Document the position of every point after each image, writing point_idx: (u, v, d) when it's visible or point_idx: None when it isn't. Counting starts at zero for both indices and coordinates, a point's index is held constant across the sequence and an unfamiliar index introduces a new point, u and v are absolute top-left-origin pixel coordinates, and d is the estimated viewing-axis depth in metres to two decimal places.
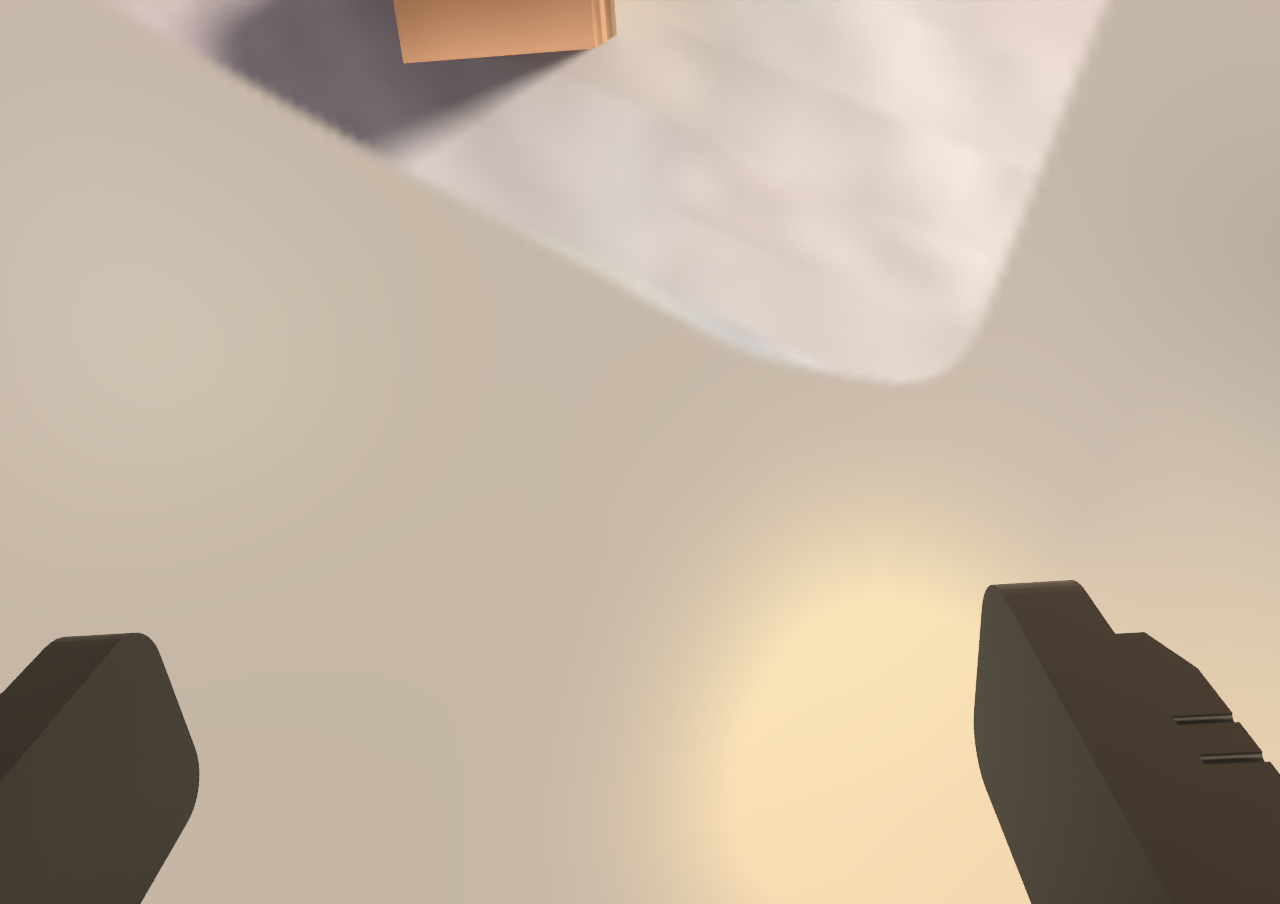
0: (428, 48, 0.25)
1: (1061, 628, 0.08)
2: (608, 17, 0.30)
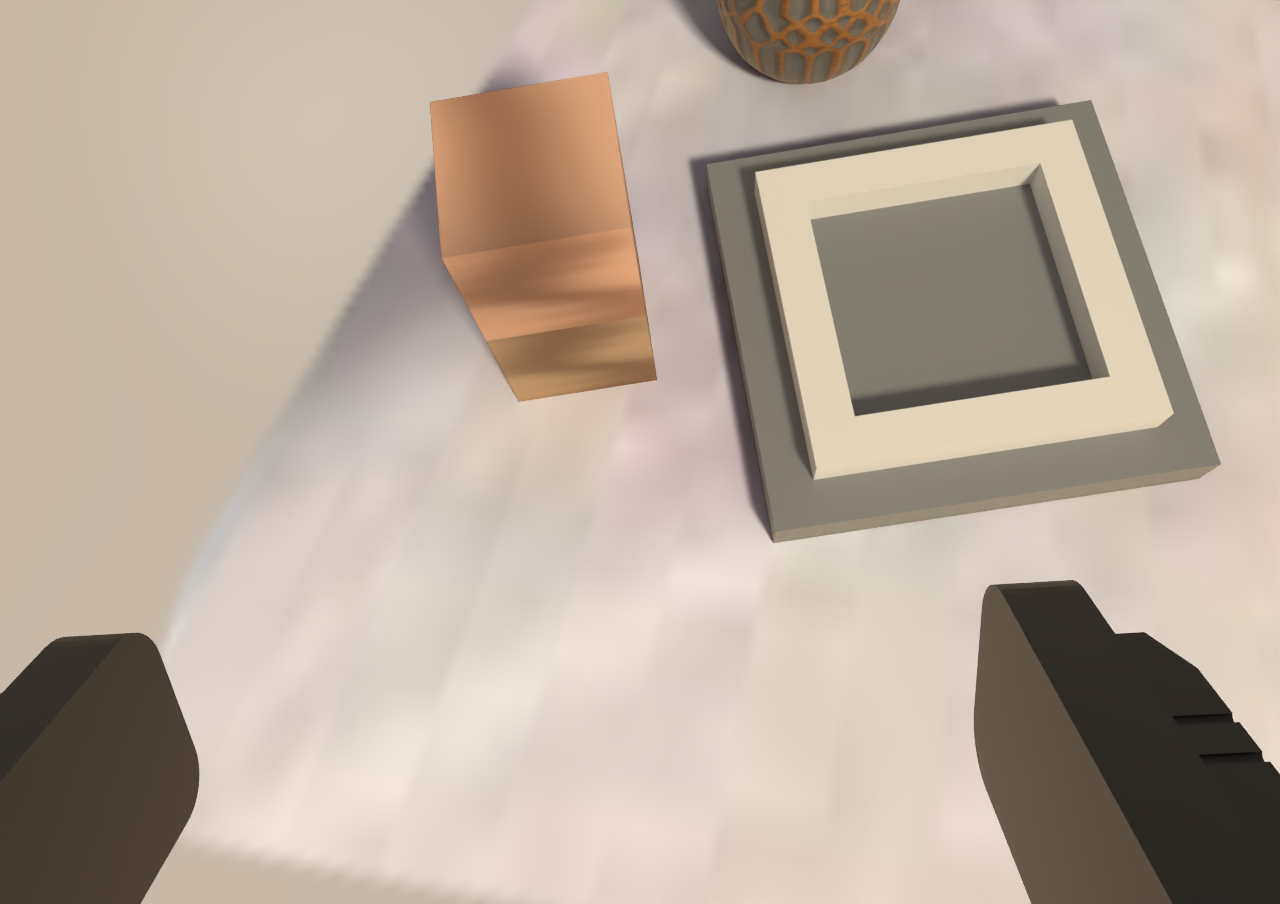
0: (441, 121, 0.27)
1: (1061, 627, 0.08)
2: (514, 356, 0.31)
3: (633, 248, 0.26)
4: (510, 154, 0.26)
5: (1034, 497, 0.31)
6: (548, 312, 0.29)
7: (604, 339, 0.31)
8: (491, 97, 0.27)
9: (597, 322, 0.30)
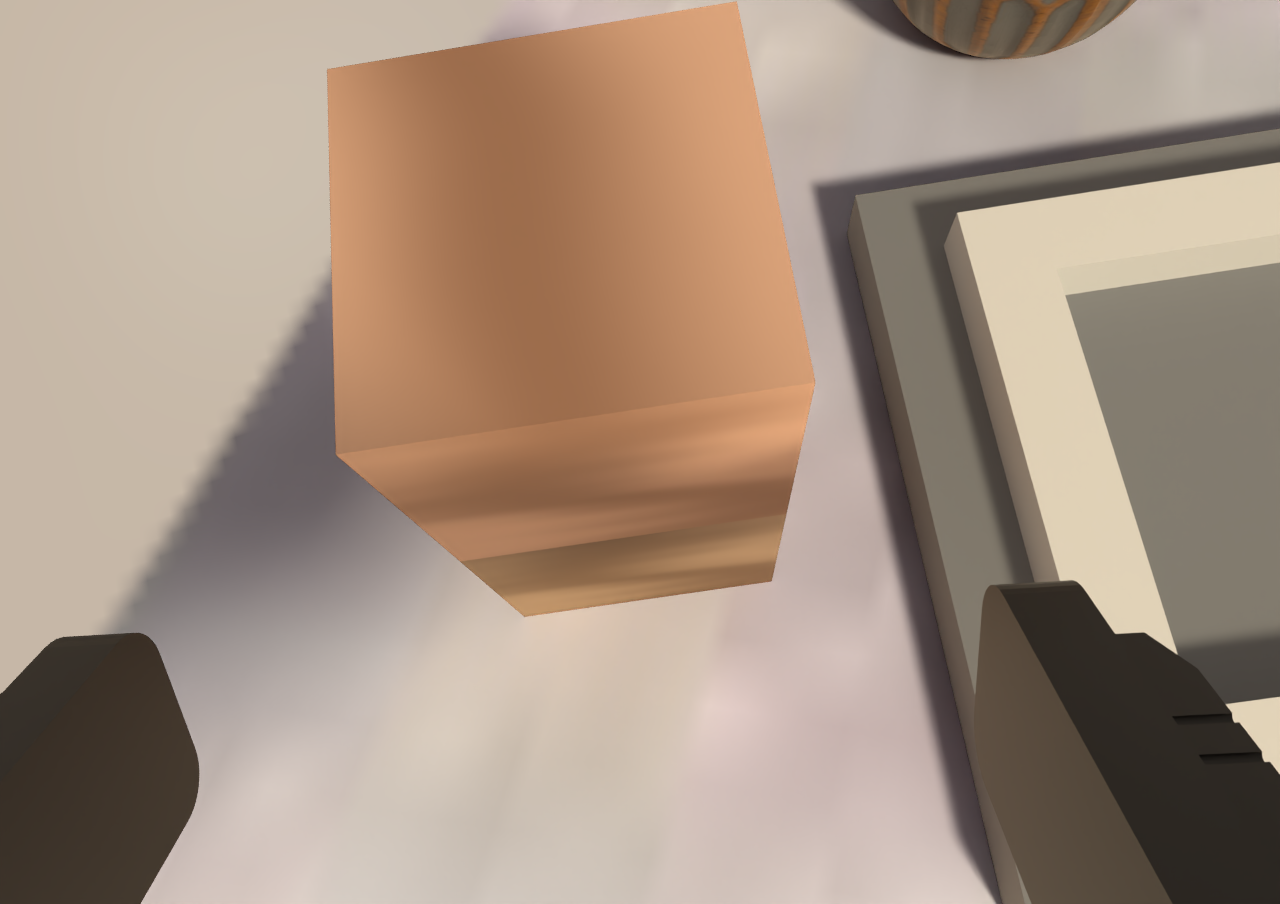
0: (353, 113, 0.11)
1: (1061, 628, 0.08)
2: (517, 573, 0.16)
3: (804, 419, 0.11)
4: (509, 192, 0.11)
5: None
6: (589, 520, 0.14)
7: (693, 545, 0.16)
8: (468, 58, 0.12)
9: (687, 527, 0.15)
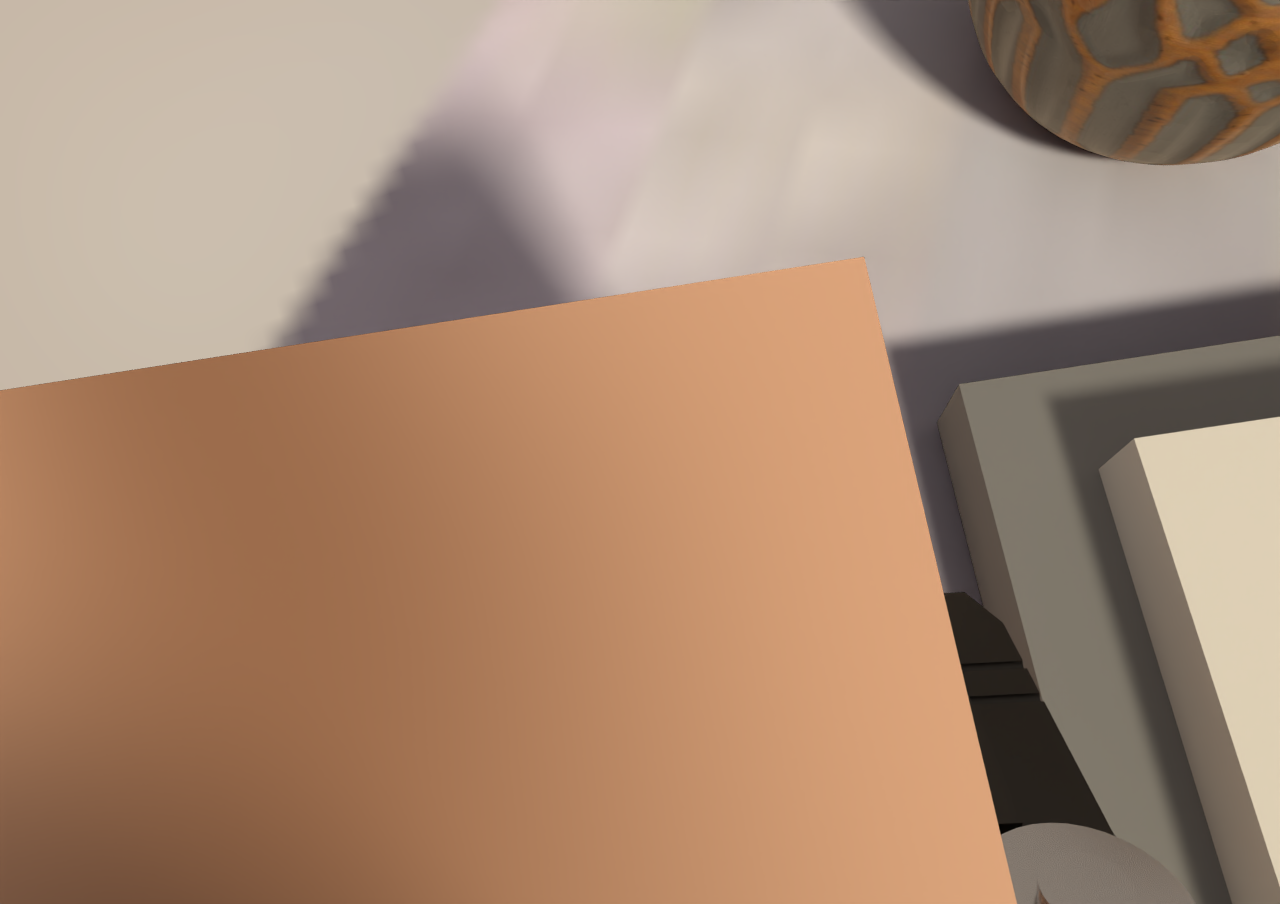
0: None
1: None
2: None
3: None
4: (281, 801, 0.04)
5: None
6: None
7: None
8: (215, 392, 0.05)
9: None
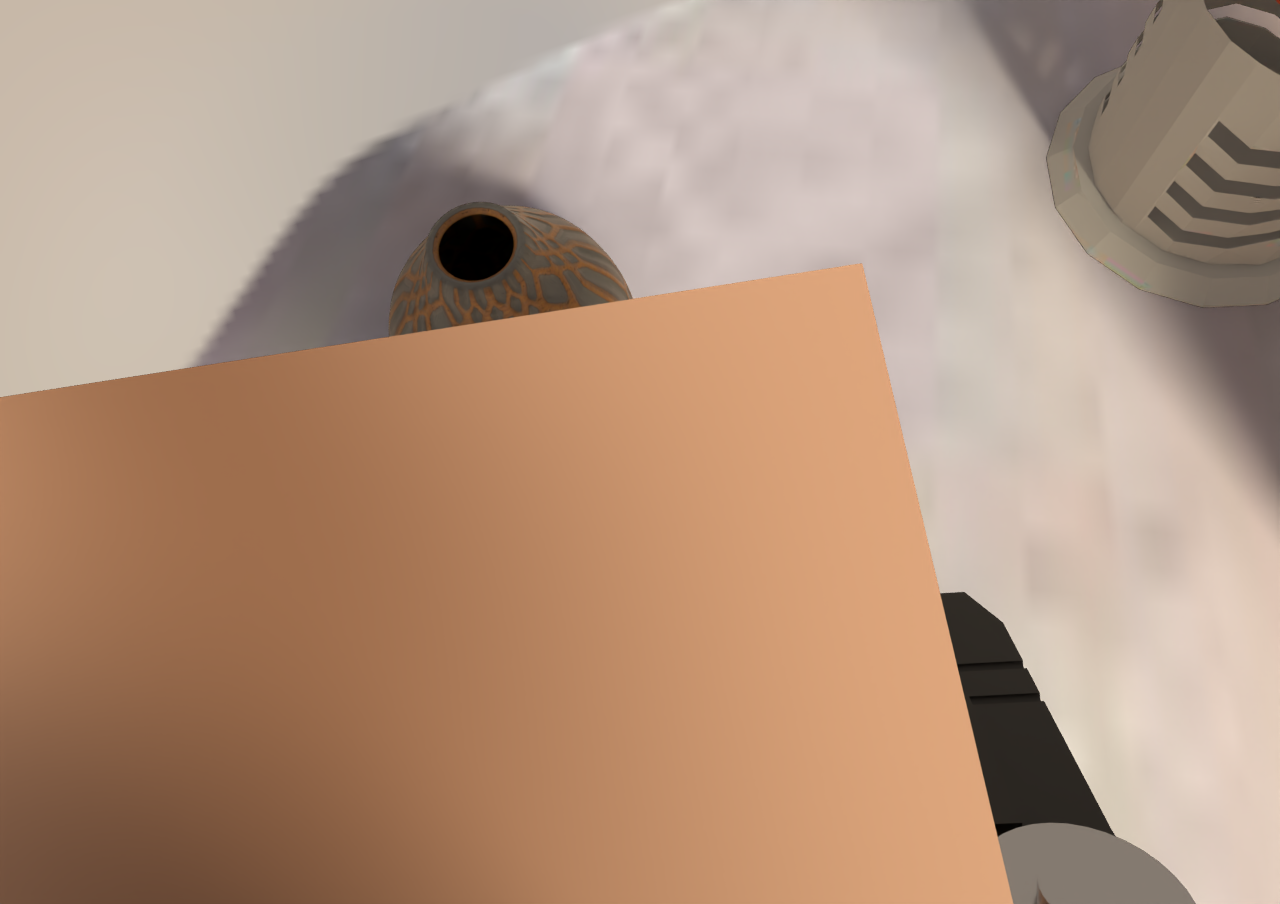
0: None
1: None
2: None
3: None
4: (280, 809, 0.04)
5: None
6: None
7: None
8: (213, 399, 0.05)
9: None
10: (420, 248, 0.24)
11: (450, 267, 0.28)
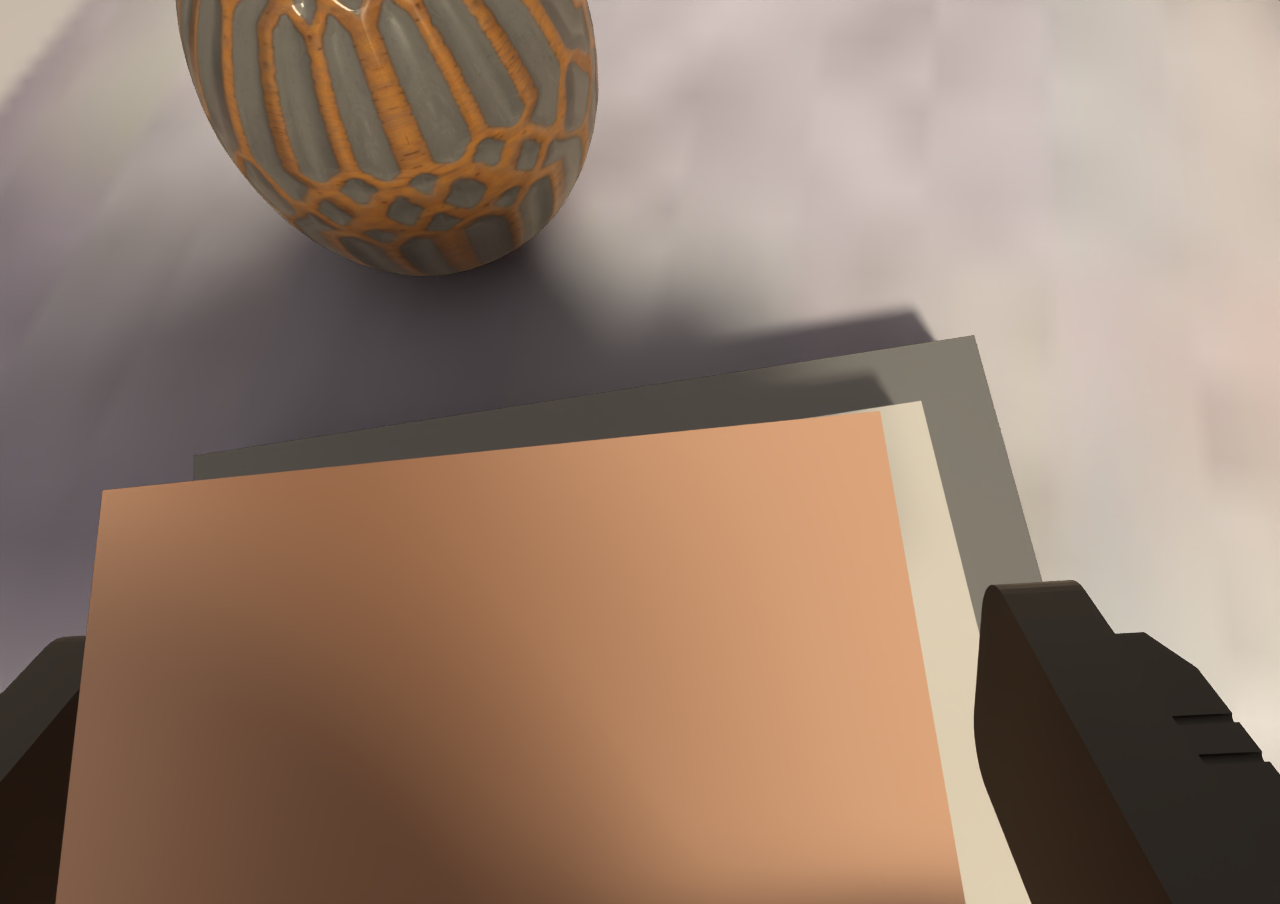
0: (138, 595, 0.06)
1: (1061, 628, 0.08)
2: None
3: None
4: (417, 818, 0.05)
5: None
6: None
7: None
8: (363, 493, 0.06)
9: None
10: None
11: None
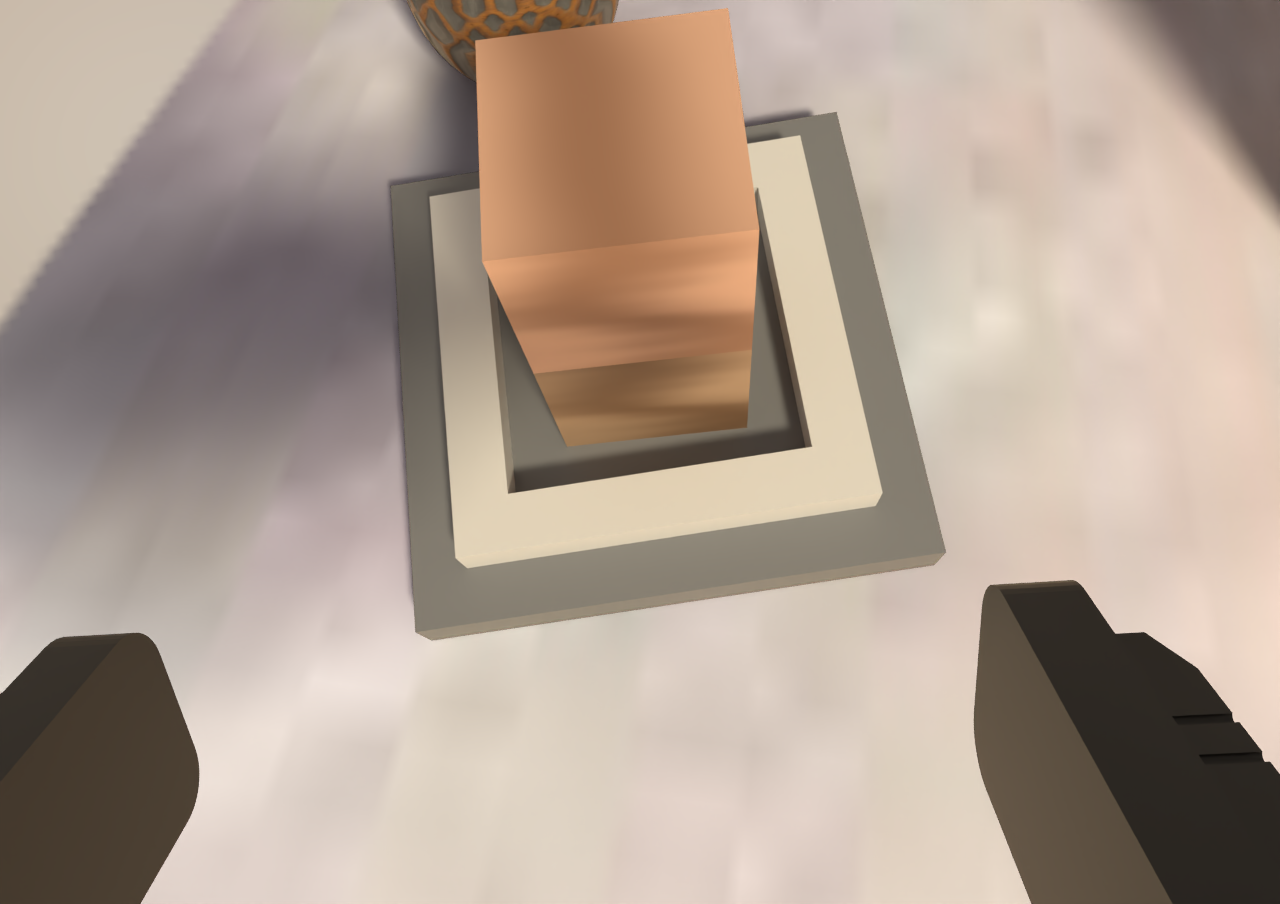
0: (491, 67, 0.19)
1: (1061, 627, 0.08)
2: (568, 393, 0.23)
3: (755, 259, 0.18)
4: (586, 117, 0.18)
5: (731, 589, 0.26)
6: (622, 340, 0.21)
7: (690, 376, 0.23)
8: (562, 37, 0.19)
9: (685, 356, 0.22)
10: None
11: None
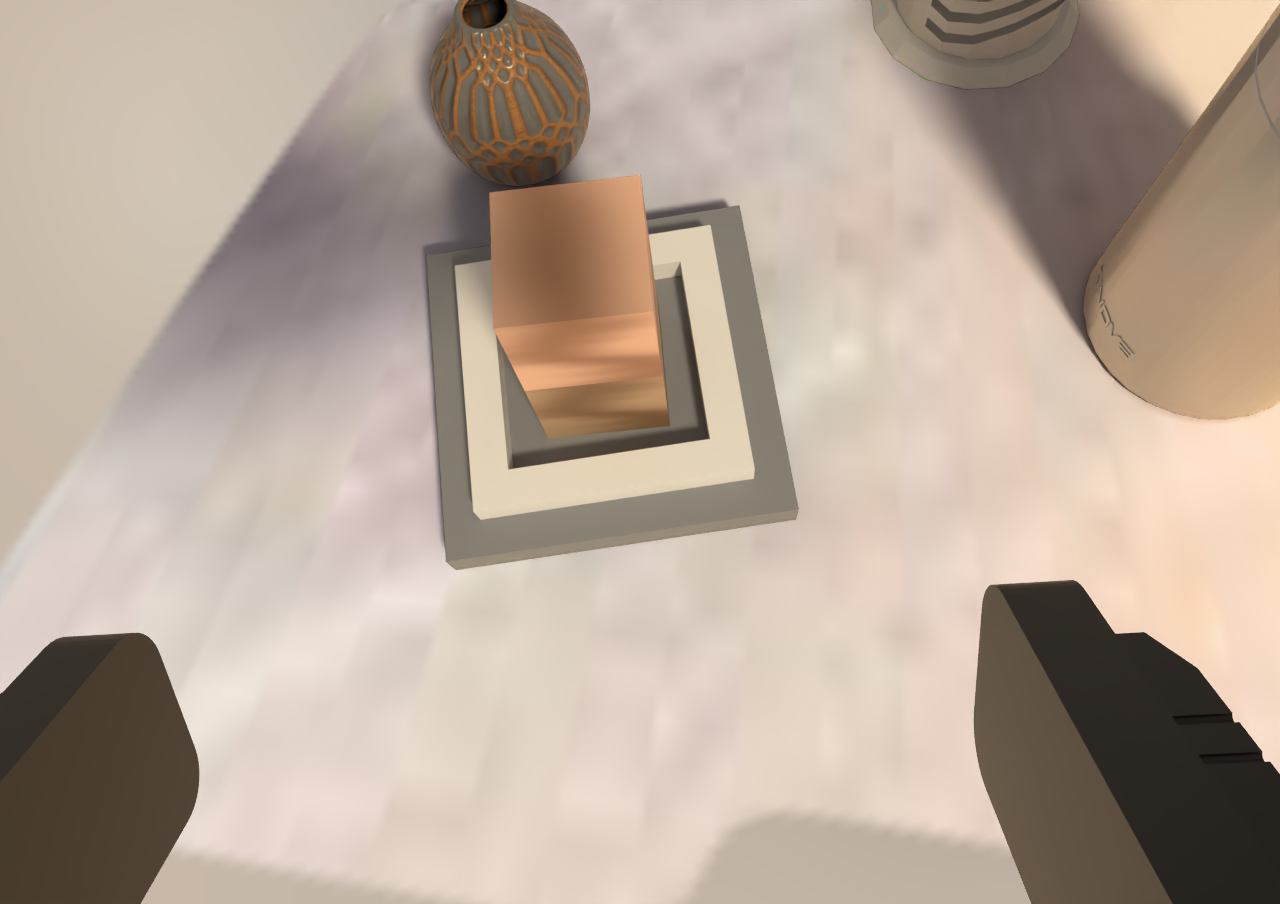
0: (498, 210, 0.32)
1: (1061, 628, 0.08)
2: (547, 403, 0.36)
3: (654, 326, 0.31)
4: (555, 242, 0.31)
5: (657, 534, 0.39)
6: (579, 371, 0.34)
7: (625, 393, 0.36)
8: (541, 191, 0.32)
9: (620, 380, 0.35)
10: None
11: None
